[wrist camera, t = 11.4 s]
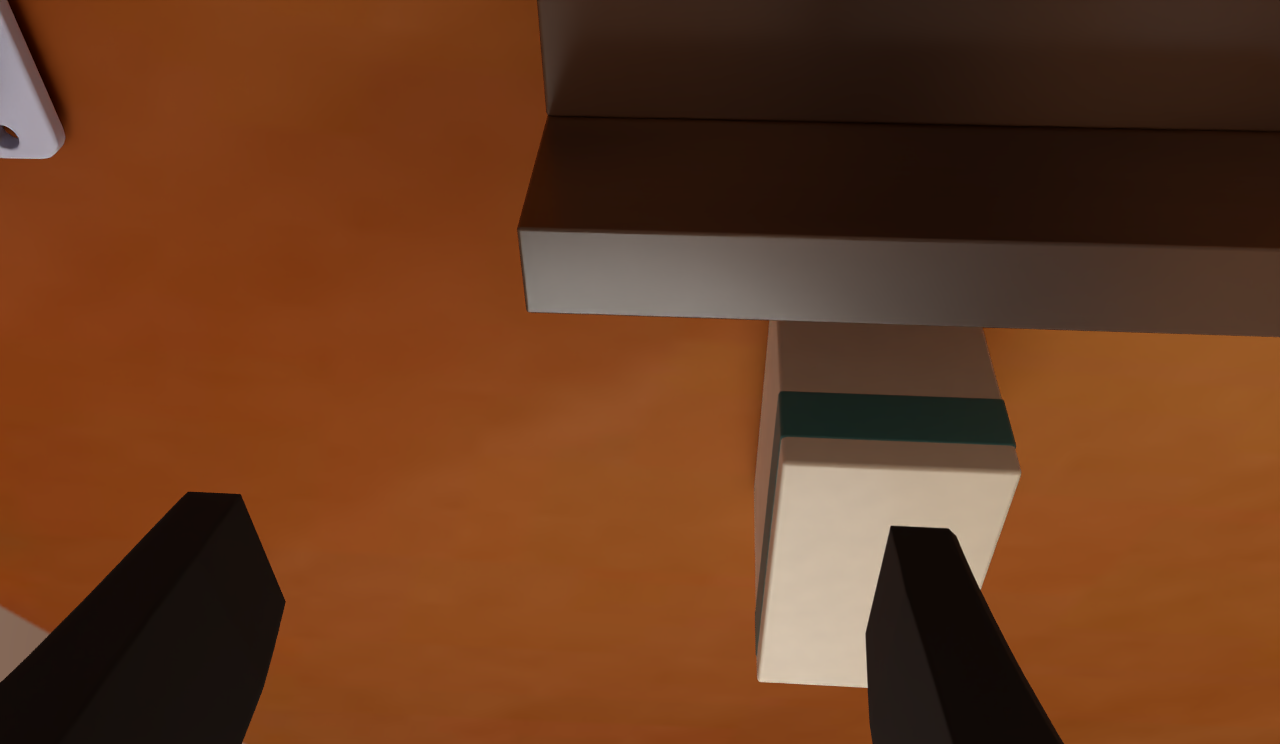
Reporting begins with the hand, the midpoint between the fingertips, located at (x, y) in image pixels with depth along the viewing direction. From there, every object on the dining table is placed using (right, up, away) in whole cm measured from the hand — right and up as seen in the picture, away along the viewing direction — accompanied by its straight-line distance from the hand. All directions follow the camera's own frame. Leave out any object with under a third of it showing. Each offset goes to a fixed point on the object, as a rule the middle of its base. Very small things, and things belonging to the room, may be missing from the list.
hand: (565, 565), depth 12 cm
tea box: (+6, +2, +12) cm, 13 cm away
